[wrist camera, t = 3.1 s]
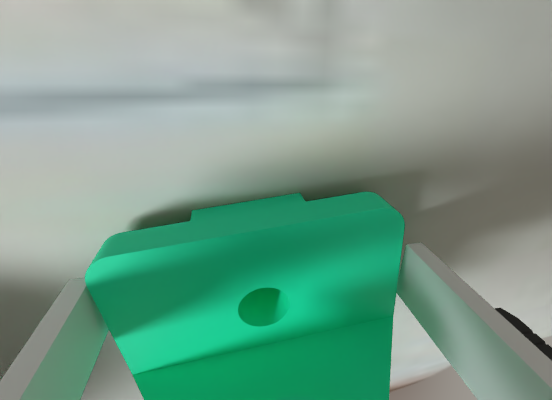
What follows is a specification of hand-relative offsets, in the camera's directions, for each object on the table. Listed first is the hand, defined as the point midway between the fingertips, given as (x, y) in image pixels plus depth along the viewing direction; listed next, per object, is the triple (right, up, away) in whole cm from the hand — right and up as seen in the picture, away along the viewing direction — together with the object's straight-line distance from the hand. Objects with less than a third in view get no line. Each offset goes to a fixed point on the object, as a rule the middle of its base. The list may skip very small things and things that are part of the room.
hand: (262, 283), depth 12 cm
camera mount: (0, 0, +2) cm, 2 cm away
